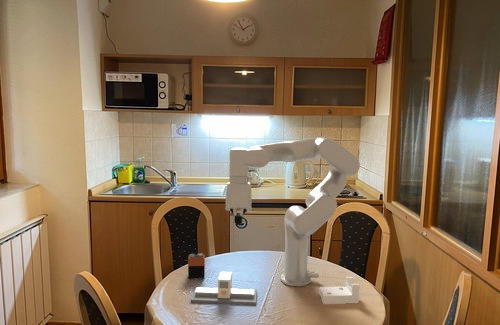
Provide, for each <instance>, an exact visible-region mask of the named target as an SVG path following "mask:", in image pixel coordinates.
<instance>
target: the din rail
mask: <svg viewBox="0 0 500 325" xmlns="http://www.w3.org/2000/svg"><path fill="white" fill-rule="evenodd" d="M195 288H196V287H195ZM249 289H250V288H248V289H247V288H246V289H245V288H232V289H231V293H230V297H245V298H254V290H255V289H254V290H249ZM195 296H218V287H201V288H196V291H195Z"/></svg>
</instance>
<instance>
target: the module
mask: <svg viewBox="0 0 500 325" xmlns="http://www.w3.org/2000/svg"><path fill="white" fill-rule="evenodd" d="M217 288H218V298H230V293H231V289H233V271H220V273H219V275H218V278H217Z"/></svg>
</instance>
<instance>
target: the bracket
mask: <svg viewBox="0 0 500 325" xmlns="http://www.w3.org/2000/svg"><path fill="white" fill-rule="evenodd" d="M354 279H355V278H354V276H345V286H319V288H318V294H319V296H320V299H321V302H322V303H323V305H346V304H345V303H358V304H359V297H360V296H359V295H360V284H359V283H355V280H354Z"/></svg>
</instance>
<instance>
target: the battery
mask: <svg viewBox="0 0 500 325" xmlns="http://www.w3.org/2000/svg"><path fill="white" fill-rule="evenodd" d="M187 257H188V258H187V265H188V267H187V268H188V269H187V277H188V279H190V280H191V279H193V280H194V279H204V278H205V274H206V272H205V271H206V270H205V269H206V268H205V267H206V266H205V264H206V262H205V261H206V260H205V257H206V255H205V254H204V253H201V252H200V253H197V254H195V253H191V254H189V255H188V256H187Z"/></svg>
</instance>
